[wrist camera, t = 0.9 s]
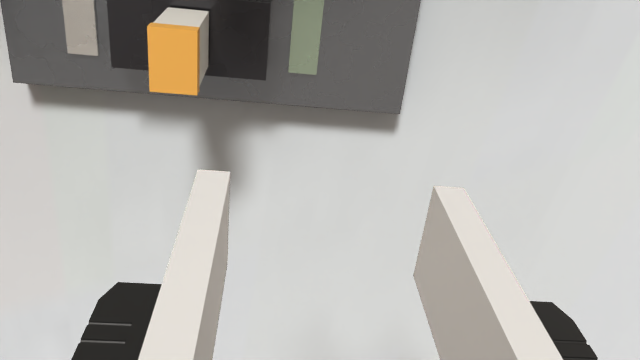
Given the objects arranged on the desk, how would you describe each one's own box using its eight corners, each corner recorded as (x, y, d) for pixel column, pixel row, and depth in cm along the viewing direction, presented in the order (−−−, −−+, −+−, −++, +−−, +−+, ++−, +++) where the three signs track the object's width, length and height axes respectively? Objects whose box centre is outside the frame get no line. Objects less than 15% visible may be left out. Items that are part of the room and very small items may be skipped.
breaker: (168, 63, 29) (149, 91, 25) (166, 6, 27) (146, 26, 24) (209, 67, 29) (197, 95, 25) (209, 10, 28) (197, 30, 24)
